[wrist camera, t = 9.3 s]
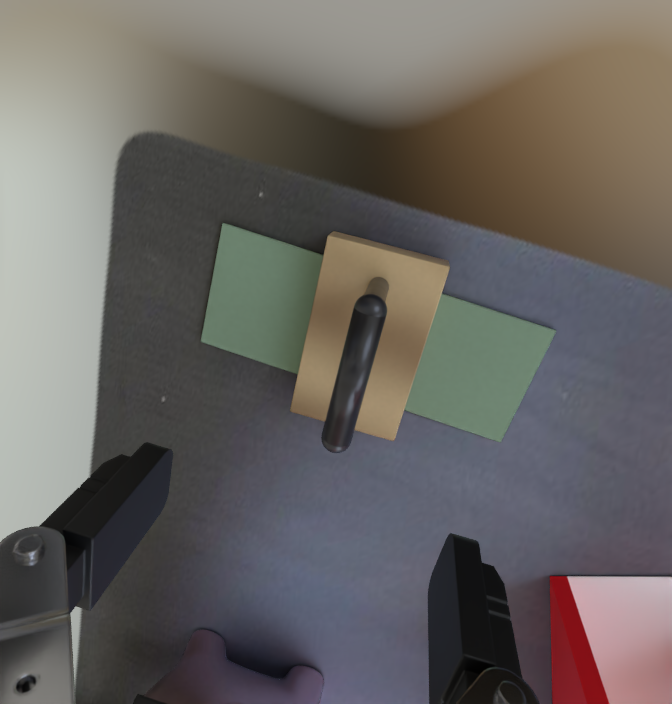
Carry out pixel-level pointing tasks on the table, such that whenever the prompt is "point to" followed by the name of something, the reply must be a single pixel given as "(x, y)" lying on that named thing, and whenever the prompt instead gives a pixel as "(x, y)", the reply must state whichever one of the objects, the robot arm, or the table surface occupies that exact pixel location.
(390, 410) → the birch board
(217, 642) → the piggy bank
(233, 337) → the mat
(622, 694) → the miniature room diorama
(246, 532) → the table surface
